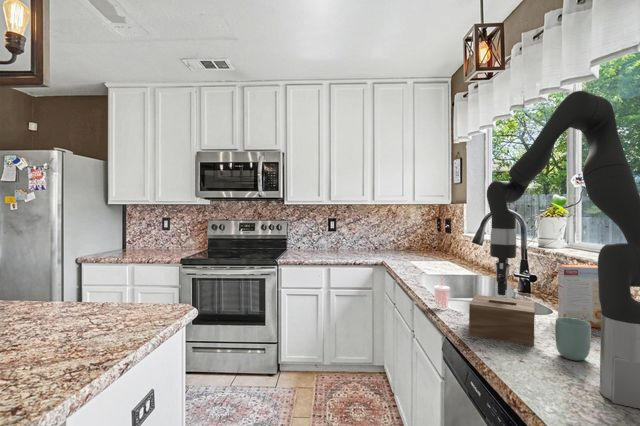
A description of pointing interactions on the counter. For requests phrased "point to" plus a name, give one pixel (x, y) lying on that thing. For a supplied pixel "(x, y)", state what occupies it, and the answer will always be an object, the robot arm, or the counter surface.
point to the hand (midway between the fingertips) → (502, 292)
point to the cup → (573, 338)
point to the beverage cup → (441, 295)
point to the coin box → (502, 319)
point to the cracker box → (579, 293)
